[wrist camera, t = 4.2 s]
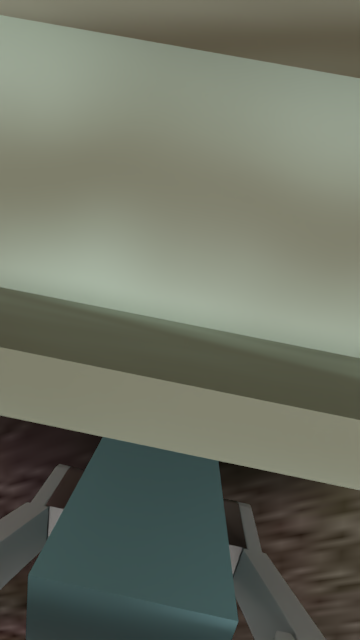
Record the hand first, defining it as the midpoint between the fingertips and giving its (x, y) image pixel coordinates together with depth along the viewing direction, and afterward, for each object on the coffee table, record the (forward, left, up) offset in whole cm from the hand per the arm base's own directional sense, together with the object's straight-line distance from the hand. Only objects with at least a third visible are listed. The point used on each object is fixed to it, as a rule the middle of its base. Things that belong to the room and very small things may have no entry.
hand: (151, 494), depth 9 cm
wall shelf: (+12, -2, -3) cm, 13 cm away
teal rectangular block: (0, 0, -3) cm, 3 cm away
